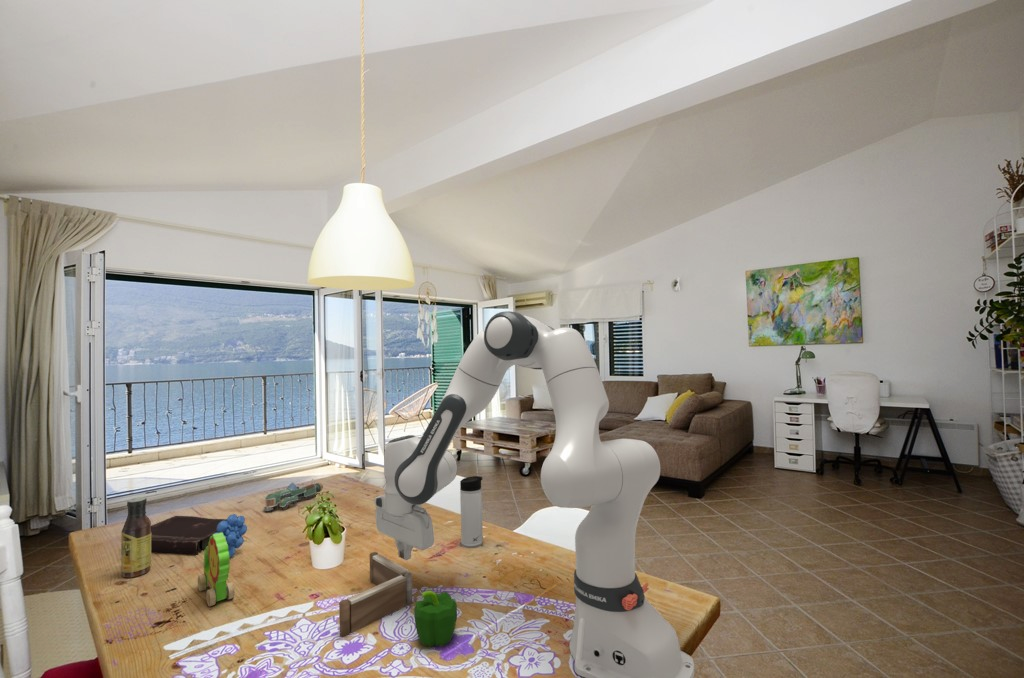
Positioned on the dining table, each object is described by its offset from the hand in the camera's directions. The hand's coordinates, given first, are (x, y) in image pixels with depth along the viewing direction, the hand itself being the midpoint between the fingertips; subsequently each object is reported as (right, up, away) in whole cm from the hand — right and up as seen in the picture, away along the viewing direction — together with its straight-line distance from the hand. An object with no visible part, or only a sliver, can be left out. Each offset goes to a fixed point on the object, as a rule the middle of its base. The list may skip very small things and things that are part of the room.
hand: (404, 558), depth 115 cm
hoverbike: (-57, -10, +65) cm, 88 cm away
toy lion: (-44, -8, -4) cm, 45 cm away
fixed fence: (-2, -6, -16) cm, 17 cm away
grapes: (-55, -8, +17) cm, 58 cm away
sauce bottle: (-74, -9, +9) cm, 75 cm away
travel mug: (+15, -7, +21) cm, 27 cm away
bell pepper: (+12, -6, -23) cm, 26 cm away
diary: (-76, -10, +30) cm, 82 cm away
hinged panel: (-3, -6, -4) cm, 8 cm away
